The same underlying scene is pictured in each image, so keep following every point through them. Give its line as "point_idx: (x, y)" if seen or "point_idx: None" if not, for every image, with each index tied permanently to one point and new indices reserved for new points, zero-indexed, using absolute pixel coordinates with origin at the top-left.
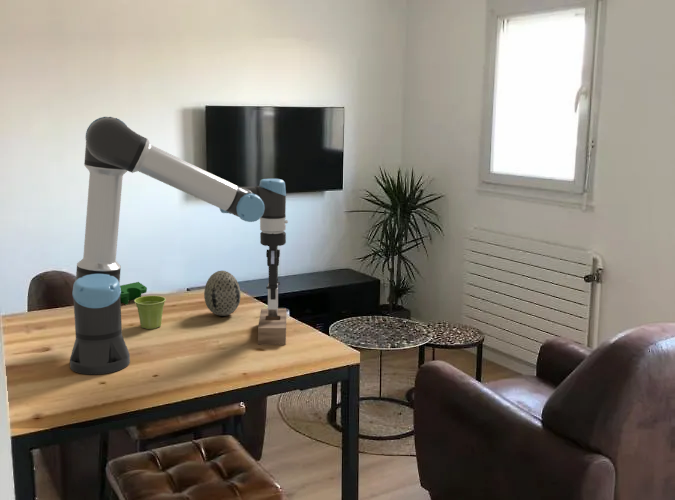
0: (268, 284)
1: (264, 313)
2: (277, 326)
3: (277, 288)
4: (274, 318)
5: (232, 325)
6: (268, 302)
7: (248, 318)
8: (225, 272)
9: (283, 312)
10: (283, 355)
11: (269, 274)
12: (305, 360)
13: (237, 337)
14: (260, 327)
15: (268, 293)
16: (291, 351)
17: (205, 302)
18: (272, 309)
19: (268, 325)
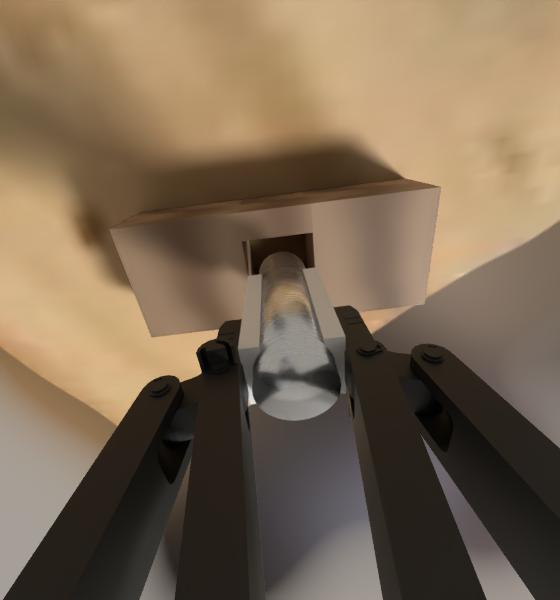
0: (269, 362)
1: (349, 220)
2: (161, 306)
3: (250, 403)
4: (313, 266)
5: (387, 23)
6: (268, 286)
7: (493, 98)
8: None
9: (364, 301)
10: (68, 311)
11: (45, 548)
12: (57, 369)
13: (204, 98)
14: (122, 239)
15: (269, 316)
16: (114, 328)
17: None
18: None
19: (164, 269)
